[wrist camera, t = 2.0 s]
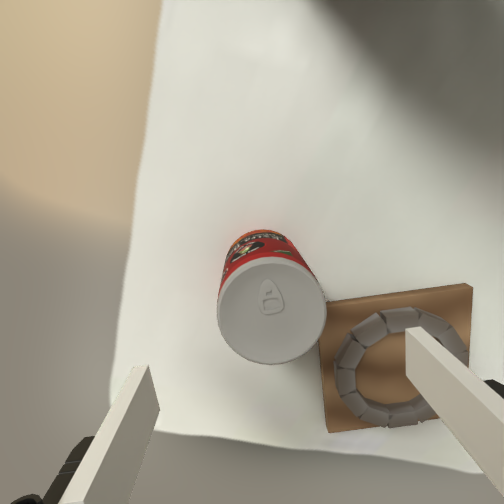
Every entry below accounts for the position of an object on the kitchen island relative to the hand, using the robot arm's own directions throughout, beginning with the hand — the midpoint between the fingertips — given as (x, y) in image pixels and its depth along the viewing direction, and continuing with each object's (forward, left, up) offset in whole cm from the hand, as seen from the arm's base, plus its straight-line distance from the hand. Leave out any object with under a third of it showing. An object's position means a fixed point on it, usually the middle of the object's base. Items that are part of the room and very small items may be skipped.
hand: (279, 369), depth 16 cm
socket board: (+13, +13, -17) cm, 25 cm away
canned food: (0, 0, -17) cm, 17 cm away
